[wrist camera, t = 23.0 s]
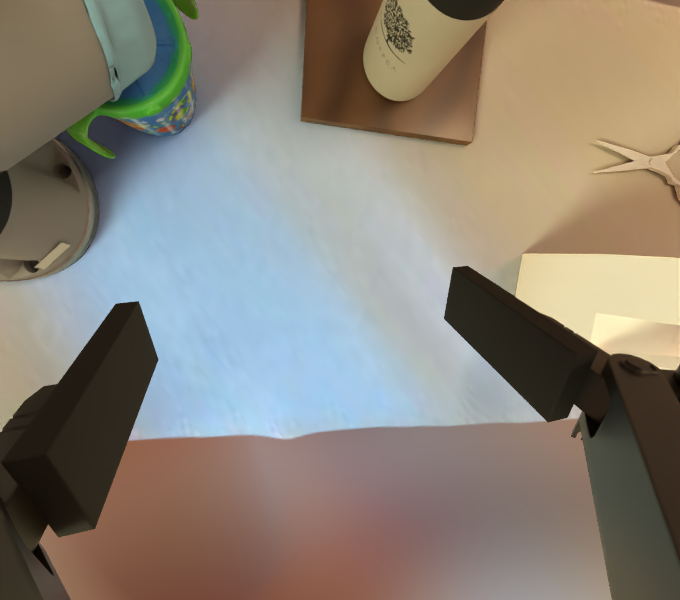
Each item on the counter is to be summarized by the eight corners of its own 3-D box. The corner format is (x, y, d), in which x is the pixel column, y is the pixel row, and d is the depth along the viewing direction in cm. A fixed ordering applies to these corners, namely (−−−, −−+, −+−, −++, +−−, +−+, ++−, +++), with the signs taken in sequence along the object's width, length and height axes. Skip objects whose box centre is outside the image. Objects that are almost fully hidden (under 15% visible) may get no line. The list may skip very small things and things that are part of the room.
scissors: (709, 204, 46) (589, 199, 42) (702, 205, 47) (583, 199, 43) (722, 123, 45) (599, 111, 41) (715, 126, 45) (593, 113, 42)
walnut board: (300, 121, 36) (301, 117, 35) (307, -22, 34) (308, -32, 33) (466, 145, 40) (472, 142, 38) (481, 17, 38) (488, 10, 37)
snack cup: (159, -5, 32) (104, -120, 22) (249, 76, 34) (236, 5, 24) (61, 122, 32) (-37, 64, 22) (158, 194, 34) (108, 171, 25)
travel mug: (422, 15, 35) (563, -217, 18) (439, 93, 37) (582, -50, 19) (353, 30, 34) (430, -201, 17) (373, 110, 36) (462, -26, 18)
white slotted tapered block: (640, 268, 47) (1034, 286, 22) (617, 372, 48) (957, 493, 24) (522, 253, 43) (839, 255, 19) (502, 366, 45) (766, 502, 20)
